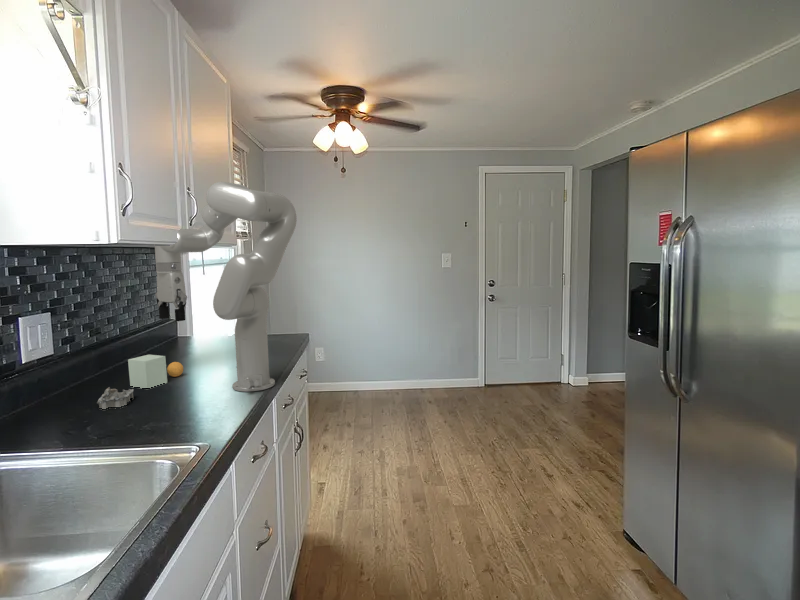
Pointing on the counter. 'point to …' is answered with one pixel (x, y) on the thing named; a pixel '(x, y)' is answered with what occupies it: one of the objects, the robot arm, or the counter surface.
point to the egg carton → (114, 398)
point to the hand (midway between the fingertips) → (172, 319)
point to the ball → (175, 369)
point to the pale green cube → (147, 371)
